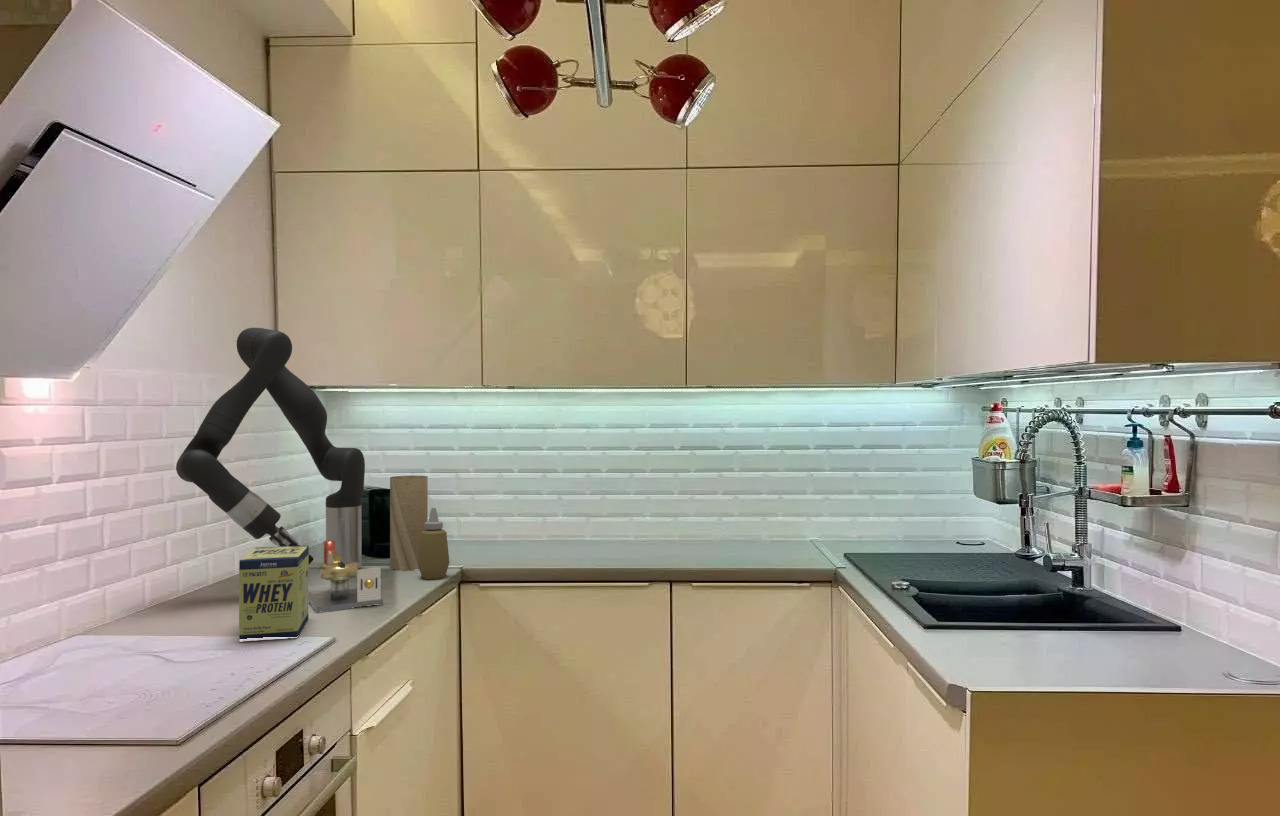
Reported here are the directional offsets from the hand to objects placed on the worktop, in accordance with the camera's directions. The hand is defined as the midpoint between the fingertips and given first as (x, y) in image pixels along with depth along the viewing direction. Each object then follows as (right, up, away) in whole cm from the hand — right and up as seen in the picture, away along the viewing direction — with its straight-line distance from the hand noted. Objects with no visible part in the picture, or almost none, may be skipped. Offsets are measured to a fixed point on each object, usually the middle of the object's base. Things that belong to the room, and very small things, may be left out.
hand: (310, 561), depth 190 cm
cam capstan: (+8, -2, -5) cm, 10 cm away
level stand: (+12, -7, -9) cm, 17 cm away
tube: (+15, -8, +31) cm, 35 cm away
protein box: (+6, -8, -32) cm, 34 cm away
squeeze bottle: (+25, -8, +17) cm, 31 cm away
